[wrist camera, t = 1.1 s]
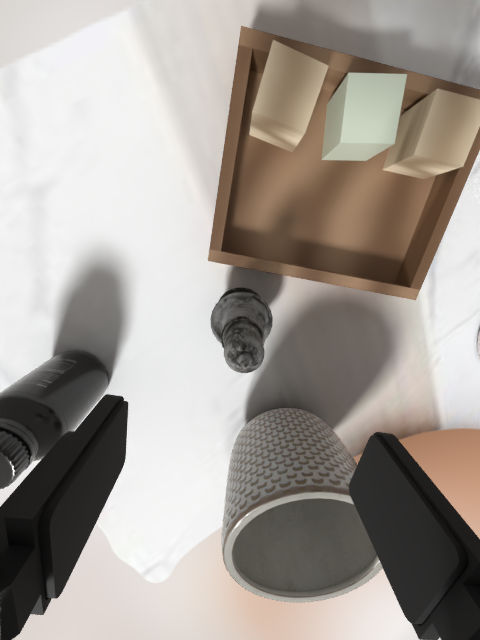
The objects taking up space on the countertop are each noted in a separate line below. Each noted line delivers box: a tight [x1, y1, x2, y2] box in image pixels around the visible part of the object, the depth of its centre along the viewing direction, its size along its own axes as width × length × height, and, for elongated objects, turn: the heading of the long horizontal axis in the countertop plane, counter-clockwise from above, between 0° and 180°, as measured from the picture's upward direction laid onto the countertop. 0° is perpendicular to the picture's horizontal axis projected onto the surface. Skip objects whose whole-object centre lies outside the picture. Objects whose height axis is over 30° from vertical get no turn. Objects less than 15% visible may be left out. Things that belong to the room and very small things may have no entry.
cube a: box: [383, 88, 480, 179], centre depth 19 cm, size 4×4×4 cm
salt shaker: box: [211, 288, 272, 373], centre depth 21 cm, size 6×6×12 cm
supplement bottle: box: [0, 351, 108, 489], centre depth 23 cm, size 7×7×12 cm
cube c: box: [249, 40, 329, 152], centre depth 18 cm, size 4×4×4 cm
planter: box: [222, 408, 383, 602], centre depth 25 cm, size 14×14×13 cm
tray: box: [208, 26, 480, 300], centre depth 21 cm, size 20×16×3 cm
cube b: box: [322, 73, 407, 161], centre depth 19 cm, size 4×4×4 cm
